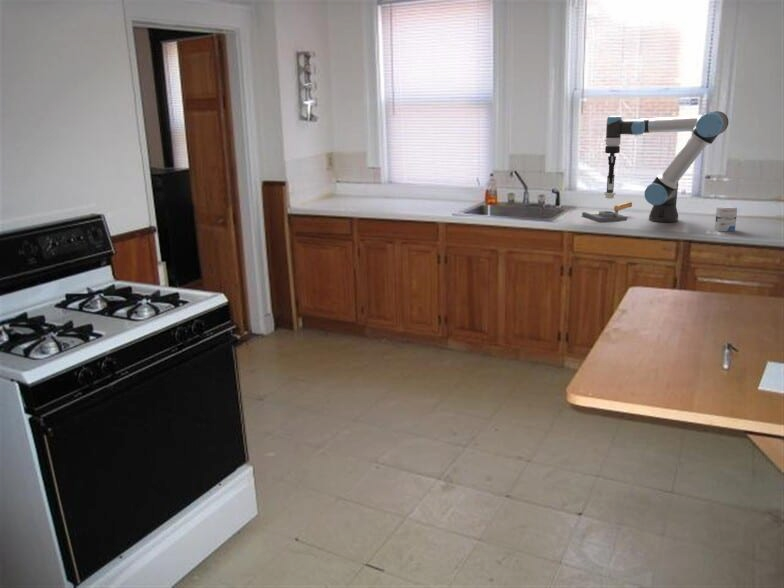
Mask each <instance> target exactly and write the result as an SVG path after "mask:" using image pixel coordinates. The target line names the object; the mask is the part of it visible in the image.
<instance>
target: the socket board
mask: <svg viewBox="0 0 784 588" xmlns="http://www.w3.org/2000/svg"><path fill="white" fill-rule="evenodd" d="M581 213H582V214H581V216H582V217H584V218H587V219H589V220H592V221H596V222H598V223H607V222H620V221H627V216H625V215H624V214H623V215H622V214H621V213H620V214H619V211H611V210H600V211H599V210H595V211H583V212H581Z"/></svg>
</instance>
